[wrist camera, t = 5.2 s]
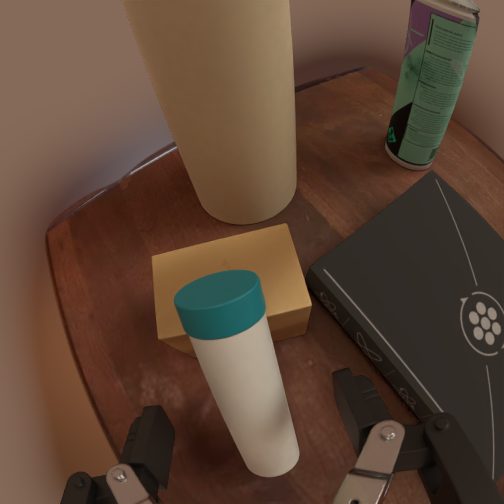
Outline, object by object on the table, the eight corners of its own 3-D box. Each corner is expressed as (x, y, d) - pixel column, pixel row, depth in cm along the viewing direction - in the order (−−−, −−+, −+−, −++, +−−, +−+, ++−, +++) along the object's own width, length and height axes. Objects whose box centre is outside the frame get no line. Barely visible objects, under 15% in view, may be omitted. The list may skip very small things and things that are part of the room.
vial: (303, 462, 16) (317, 522, 6) (250, 472, 16) (209, 536, 7) (268, 314, 21) (248, 234, 12) (219, 325, 21) (160, 256, 12)
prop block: (305, 333, 20) (312, 305, 15) (194, 358, 20) (157, 339, 15) (288, 270, 23) (286, 222, 17) (185, 294, 23) (151, 255, 17)
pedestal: (275, 238, 24) (221, -125, 3) (180, 209, 27) (62, -57, 6) (309, 160, 28) (297, -105, 7) (224, 143, 30) (167, -84, 9)
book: (303, 286, 22) (304, 269, 19) (421, 190, 25) (431, 169, 22) (468, 486, 12) (488, 493, 10) (557, 352, 15) (577, 343, 12)
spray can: (431, 142, 28) (474, -22, 10) (433, 177, 25) (495, -10, 8) (385, 129, 29) (410, -44, 11) (383, 162, 27) (419, -39, 9)
